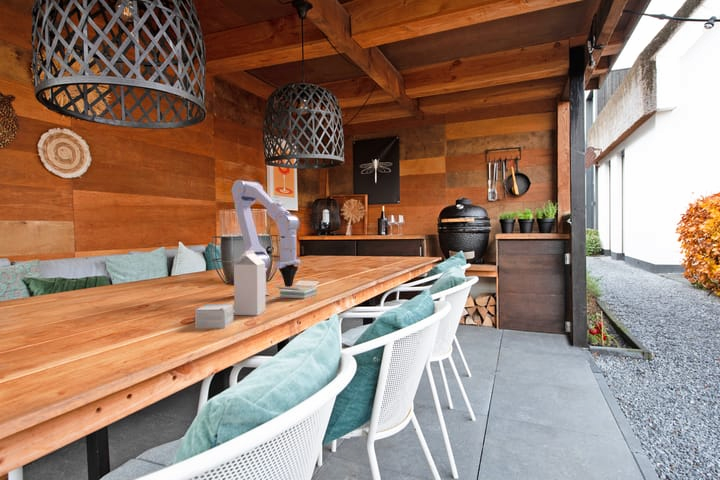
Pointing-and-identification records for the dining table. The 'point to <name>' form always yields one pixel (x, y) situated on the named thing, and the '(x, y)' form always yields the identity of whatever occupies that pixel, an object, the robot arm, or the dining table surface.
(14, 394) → the dining table surface
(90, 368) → the dining table surface
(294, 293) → the carton
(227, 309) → the small box
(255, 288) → the milk carton
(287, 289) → the flap near
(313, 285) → the flap far
